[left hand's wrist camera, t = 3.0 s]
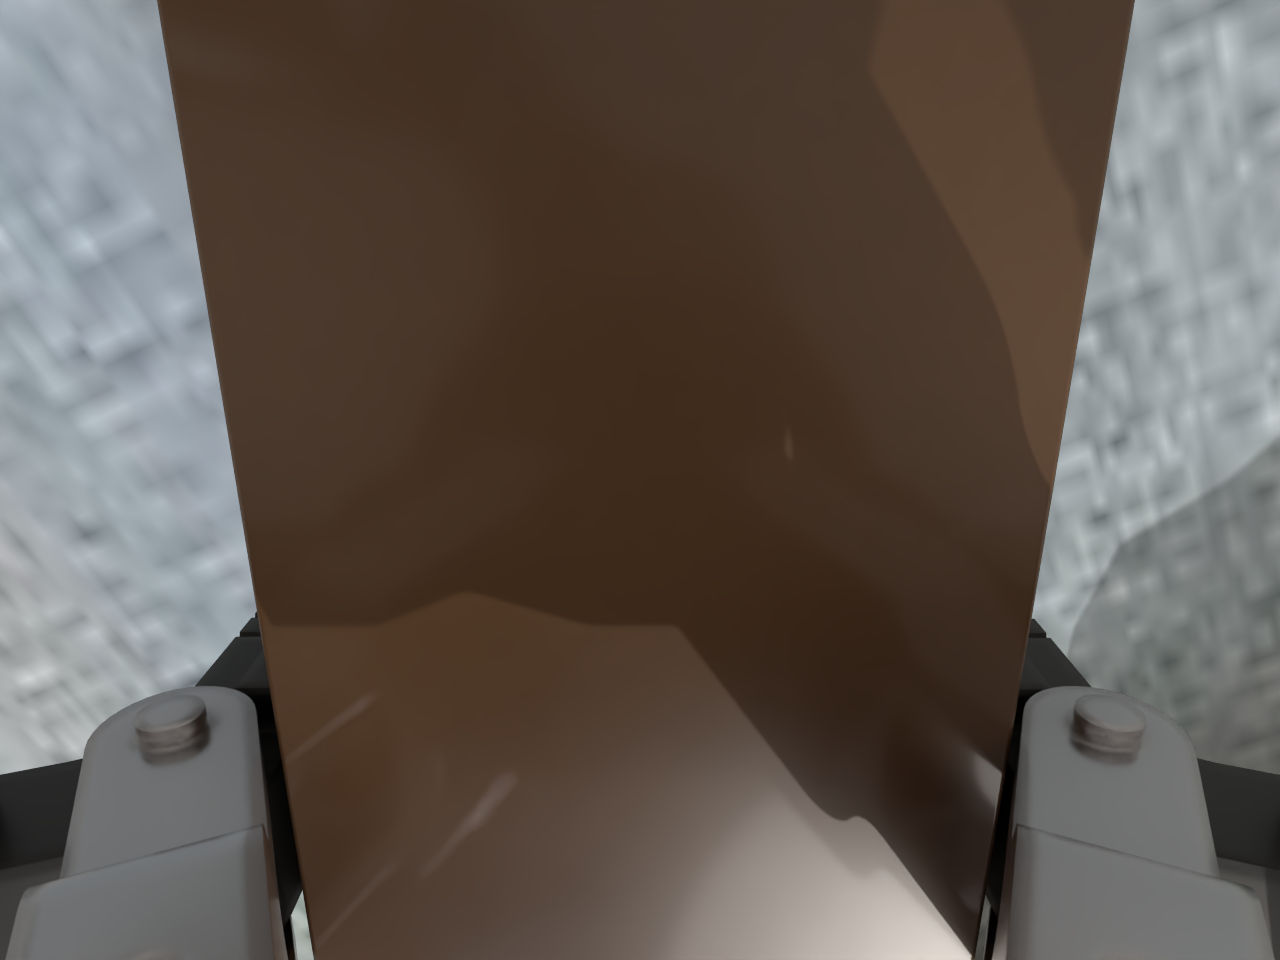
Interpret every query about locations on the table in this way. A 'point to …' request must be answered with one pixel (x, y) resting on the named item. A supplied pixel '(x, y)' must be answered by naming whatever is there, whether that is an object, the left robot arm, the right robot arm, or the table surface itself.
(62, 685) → the table surface
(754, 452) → the box
